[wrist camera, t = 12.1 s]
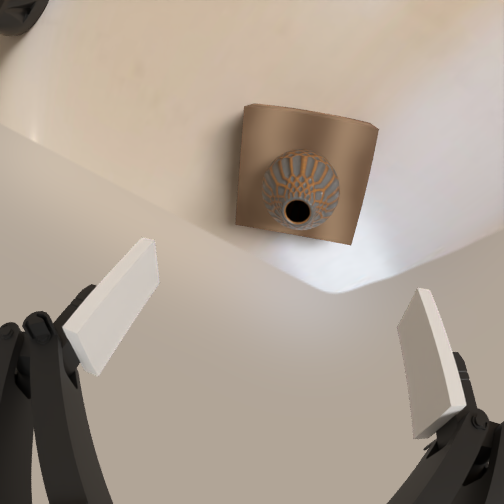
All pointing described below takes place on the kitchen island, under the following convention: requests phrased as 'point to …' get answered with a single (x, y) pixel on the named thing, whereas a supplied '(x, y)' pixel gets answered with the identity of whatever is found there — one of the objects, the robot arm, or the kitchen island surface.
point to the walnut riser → (308, 138)
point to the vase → (300, 189)
